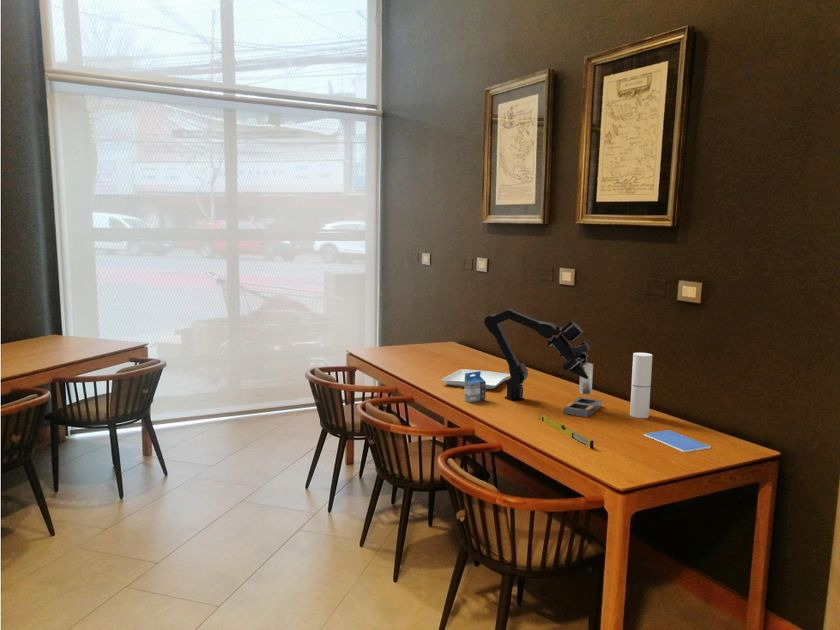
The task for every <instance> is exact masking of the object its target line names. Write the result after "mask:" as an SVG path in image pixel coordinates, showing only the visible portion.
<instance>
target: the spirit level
mask: <svg viewBox="0 0 840 630" xmlns="http://www.w3.org/2000/svg"><path fill="white" fill-rule="evenodd" d="M539 420H541V421H542V422H541V421H540V422H541V423H543V422H544V423H543V424H545V423H546V424H545V425H547V424H548V425H550V426H551V427H550V426H549V427H550V428H552V427H553V428H552V429H554V428H555V429H554V430H556V431H557V430H558V431H557V432H559V431H560V433H561V432H562V434H563V433H564V434H566V435H568V436H569V437H568V436H567V437H568V438H570V437H571V438H570V439H572V438H573V439H575V440H577V441H578V442H577V441H576V442H577V443H579V442H580V443H579V444H581V443H582V444H584V445H587V446H588V447H590V448H592V449H594V440H591V439H590V438H588V437H586V436H584V435H583V434H580V433H579V432H577V431H575V430H573V429H571V428H569V427H566V426H565V425H564V424H562V423H560V422H558V421H557V420H555V419H553V418H550V417H549V416H547V415H545V414H544V413H539ZM548 425H547V426H548ZM564 434H563V435H564ZM566 435H565V436H566ZM573 439H572V440H573ZM575 440H574V441H575ZM582 444H581V445H582ZM584 445H583V446H584ZM588 447H587V448H588ZM590 448H589V449H590Z"/></svg>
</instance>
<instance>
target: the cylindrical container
mask: <svg viewBox="0 0 840 630" xmlns="http://www.w3.org/2000/svg"><path fill="white" fill-rule="evenodd" d="M652 366H653V354H652V353H648V352H633V354H632V369H631V370H632V371H631V372H632V373H631V387H630V389H631V390H630V405H629V406H630V408H629V409H630V410H629V416H630V417H632V418H637V419H648V418H649V417H650V416H649V415H650V402H651V401H650V400H651V399H650V398H651V387H652V385H651V384H652Z"/></svg>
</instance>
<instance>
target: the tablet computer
mask: <svg viewBox="0 0 840 630" xmlns="http://www.w3.org/2000/svg"><path fill="white" fill-rule="evenodd" d="M643 436H644V437H646V438H649V439H651V440H653V439H654V441H656V442H658V443H660V442H661V444H662V445H665V446H668V447H671V448H673V449H675V450H677V451H679V452H682V453H685V452H686V453H689V452H691V451H692V452H697V451H703V450H708V449H711V448H712V447H711V445H709V444H706V443H704V442H701V441H698V440H696V439H693V438H690V437H687V436H686V435H682V434H680V433H679V432H675V431H673V430H670V429H665V430H660V431H659V430H658V431H654V432H648V433H644V434H643Z"/></svg>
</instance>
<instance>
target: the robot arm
mask: <svg viewBox="0 0 840 630" xmlns="http://www.w3.org/2000/svg"><path fill="white" fill-rule="evenodd" d="M507 320H510V321H513V322H515V323H517V324H520V325H522V326H525V327H527V328H529V329H532V330H533V331H535V332H536V333H537V334H539V335H540V336H542V338H544V339H547V348H548V347H551V346H553V347H554V348H555V349H556V350H557V352H558V353H559V357H560V358H561V357H562V358H563V359H564V360H565V363H564V364H563V365H562V369H563V370H564V371H565V372H569V373H570V372H571V373H573V374H574V375H577V376H578V377H580V376H581V377H583V378H585V379H588V376H587V374H586V373H585V371H584V369H583V368H582V366H581V364H582V363H588V362H587V361H588V357H589V354H588V352H589V351H591V348H590V346H591V345H590V344H589V343H588V342H586V341H581V342H580V344H579V345H578V346H575V345H574V344H571V343H570V341H571V342H573V341H574V340H576V339H577V338H579V337H580V335H582V334H583V333H584V331H583V329H582V328H581V326H580V325H578V324H577V323H576V322H574V321H573V320H570V321H569V322H568V323H567V324H566V325H565V326H564V327H560V326H557V325H556V324H555V323H552V322H548V321H545V320H544V321H543V320H537V319H535V318H533V317H530V316H527V315H525V314H523V313H520V312H518V311H515V310H514V309H512V308H509V309H507V310H505V311H503V312H500V313H498V314H496V313H493V314H491V315H487V316H486V317H485V318H484V321H483V324H484V327H485V328H486V329H487V330H488V332H489V333H490V334H491V335H493V338H494V339H495V340H496V343H497V344H498V347H499V349H500V350H501V353H502V355H503V357H504V359H505V361H506V363H507V365H508V371H509V372H508V374H510V377H509V378H508V379H507V380H505V384H506V396H504V399H507V400H509V401H512V402H516V401H522V400H525V397H523V396H524V387H523V385H524V384H523V383H524V382H525V381H526V380H527V379H528V377H529V373H528V371H529V369H528V368H527V367H526V364H525V362H522V363H521V362H520V361H519V360H518V358H517V356H516V354H515V352H514V350H513V348H512V346H511V343H509V340H508V337H506V333H505V332H504V326H503V325H504V324H503V322H504V321H507ZM559 334H560V335H559ZM558 335H559V336H558ZM550 338H551V339H550Z"/></svg>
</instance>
